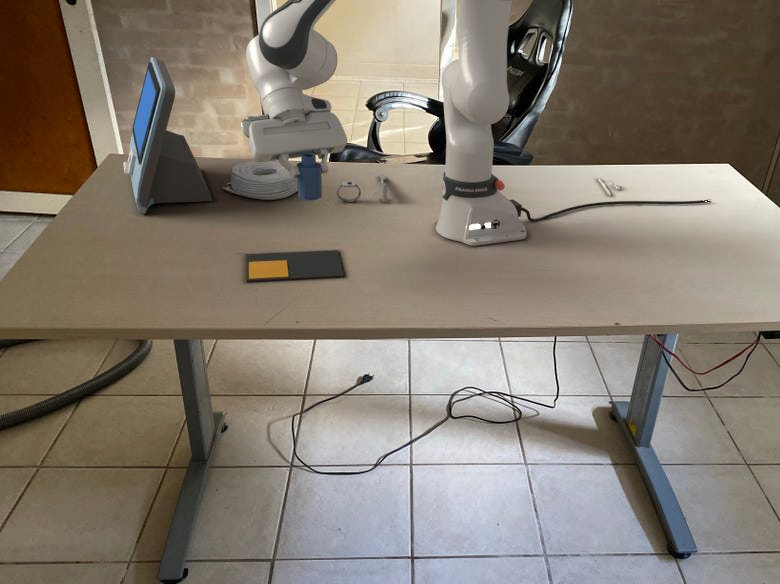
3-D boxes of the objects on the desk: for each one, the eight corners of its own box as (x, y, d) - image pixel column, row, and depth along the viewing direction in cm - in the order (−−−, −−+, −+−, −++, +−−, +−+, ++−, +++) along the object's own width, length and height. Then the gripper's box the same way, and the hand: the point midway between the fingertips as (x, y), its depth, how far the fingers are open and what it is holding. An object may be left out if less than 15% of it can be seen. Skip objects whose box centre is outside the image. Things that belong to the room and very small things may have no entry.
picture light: (597, 179, 221) (598, 172, 220) (611, 180, 222) (612, 173, 221) (609, 196, 210) (610, 189, 209) (623, 196, 210) (625, 189, 209)
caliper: (387, 203, 194) (387, 180, 191) (383, 203, 194) (383, 180, 191) (383, 177, 211) (383, 156, 208) (379, 177, 211) (379, 156, 208)
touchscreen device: (124, 169, 203) (106, 54, 187) (198, 167, 211) (187, 55, 195) (130, 216, 176) (111, 86, 161) (215, 211, 184) (205, 86, 168)
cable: (218, 190, 195) (215, 167, 191) (268, 174, 207) (266, 153, 204) (263, 207, 187) (261, 184, 183) (313, 190, 199) (311, 168, 196)
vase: (320, 191, 154) (319, 151, 150) (322, 200, 150) (321, 159, 146) (297, 192, 153) (295, 151, 148) (298, 200, 149) (296, 159, 144)
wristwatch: (337, 203, 192) (336, 185, 189) (336, 199, 194) (336, 181, 192) (361, 203, 193) (361, 184, 191) (360, 199, 195) (360, 181, 193)
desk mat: (337, 251, 167) (337, 249, 167) (344, 277, 157) (343, 274, 156) (246, 255, 163) (246, 253, 162) (246, 282, 152) (246, 279, 152)
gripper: (241, 108, 142) (265, 173, 141) (336, 100, 152) (359, 160, 151) (234, 126, 147) (258, 188, 146) (327, 116, 158) (349, 175, 157)
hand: (310, 174), depth 149 cm, fingers closed on vase, 5 cm apart
